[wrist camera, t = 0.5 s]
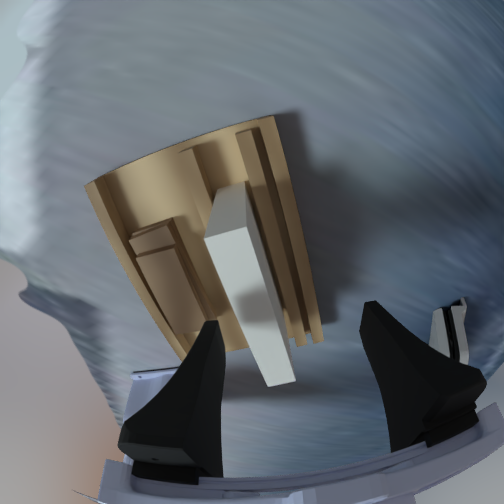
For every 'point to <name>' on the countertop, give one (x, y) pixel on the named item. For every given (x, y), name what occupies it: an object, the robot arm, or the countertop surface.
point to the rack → (197, 216)
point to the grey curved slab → (450, 333)
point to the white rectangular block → (249, 281)
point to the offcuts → (172, 276)
